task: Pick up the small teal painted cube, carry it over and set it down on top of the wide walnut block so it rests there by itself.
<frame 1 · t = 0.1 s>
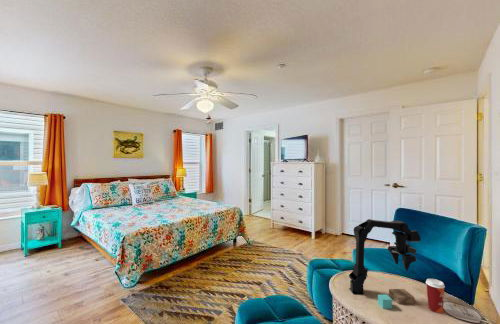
hand: (401, 267, 146), 15 cm above the table, fingers open, 9 cm apart
walnut block: (401, 300, 136), on the table
coffee cup: (435, 310, 127), on the table
teal cube: (385, 306, 130), on the table
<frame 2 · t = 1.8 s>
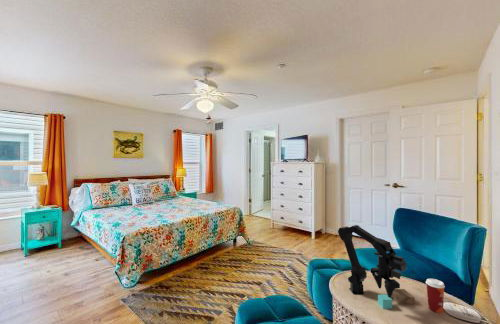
hand: (384, 292, 131), 7 cm above the table, fingers open, 9 cm apart
nothing on the table moved.
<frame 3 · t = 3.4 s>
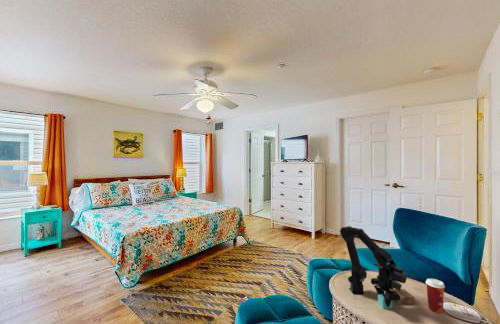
hand: (384, 304, 130), 1 cm above the table, fingers closed on teal cube, 5 cm apart
teal cube: (385, 305, 130), on the table, touching gripper
everything else where it was.
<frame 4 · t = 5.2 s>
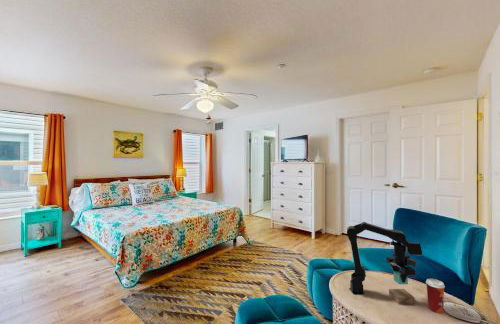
hand: (400, 280, 136), 11 cm above the table, fingers closed on teal cube, 5 cm apart
teal cube: (400, 282, 136), point 10 cm above the table, touching gripper
everything else where it was.
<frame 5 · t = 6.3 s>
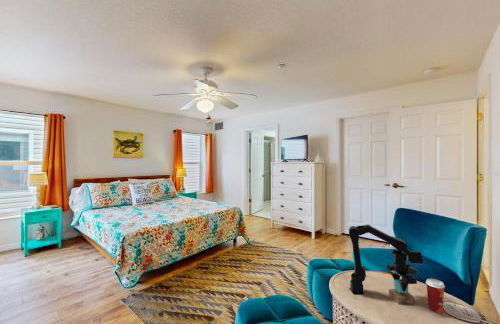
hand: (401, 288, 137), 6 cm above the table, fingers closed on teal cube, 5 cm apart
teal cube: (401, 290, 137), point 5 cm above the table, touching gripper
everything else where it was.
when the fingers open (6 cm above the table, at t = 6.9 s): teal cube drops 2 cm, resting on walnut block.
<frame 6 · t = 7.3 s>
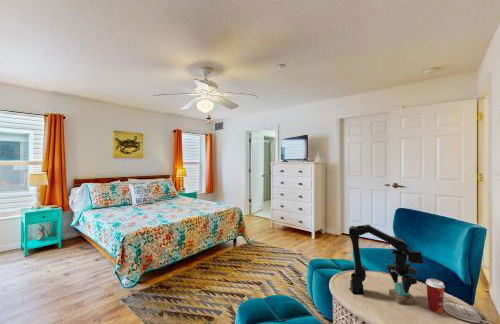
hand: (401, 288, 137), 6 cm above the table, fingers open, 9 cm apart
walnut block: (401, 300, 136), on the table, touching teal cube
teal cube: (401, 293, 136), point 4 cm above the table, touching walnut block
everything else where it was.
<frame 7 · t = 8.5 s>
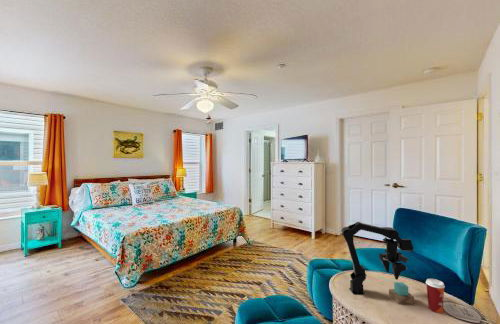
hand: (391, 275, 141), 12 cm above the table, fingers open, 9 cm apart
nothing on the table moved.
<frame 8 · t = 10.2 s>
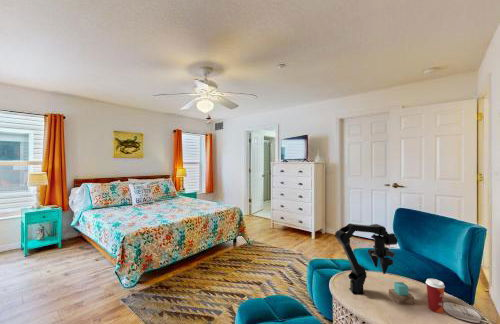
hand: (380, 270, 148), 12 cm above the table, fingers open, 9 cm apart
nothing on the table moved.
at the end: teal cube 0.3 cm off-centre on the walnut block, point 4.0 cm above the walnut block's base; teal cube tilted 0°; the gripper is holding nothing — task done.
